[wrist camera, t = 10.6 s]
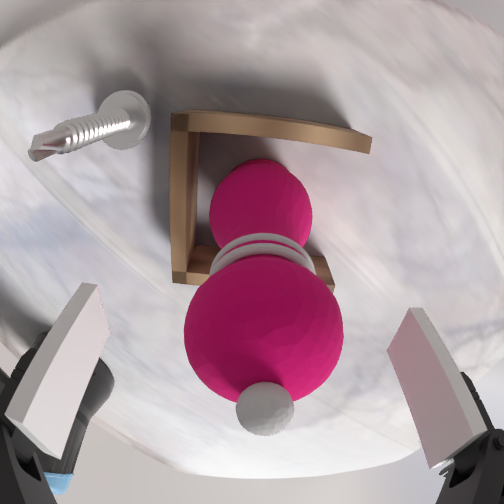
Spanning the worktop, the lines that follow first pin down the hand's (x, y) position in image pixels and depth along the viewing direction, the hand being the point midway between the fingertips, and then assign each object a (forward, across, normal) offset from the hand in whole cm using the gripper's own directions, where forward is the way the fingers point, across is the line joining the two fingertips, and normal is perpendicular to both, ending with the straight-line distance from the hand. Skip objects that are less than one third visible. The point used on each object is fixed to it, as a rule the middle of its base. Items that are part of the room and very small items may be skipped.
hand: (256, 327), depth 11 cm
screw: (+16, +11, -6) cm, 20 cm away
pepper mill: (+16, -1, 0) cm, 16 cm away
